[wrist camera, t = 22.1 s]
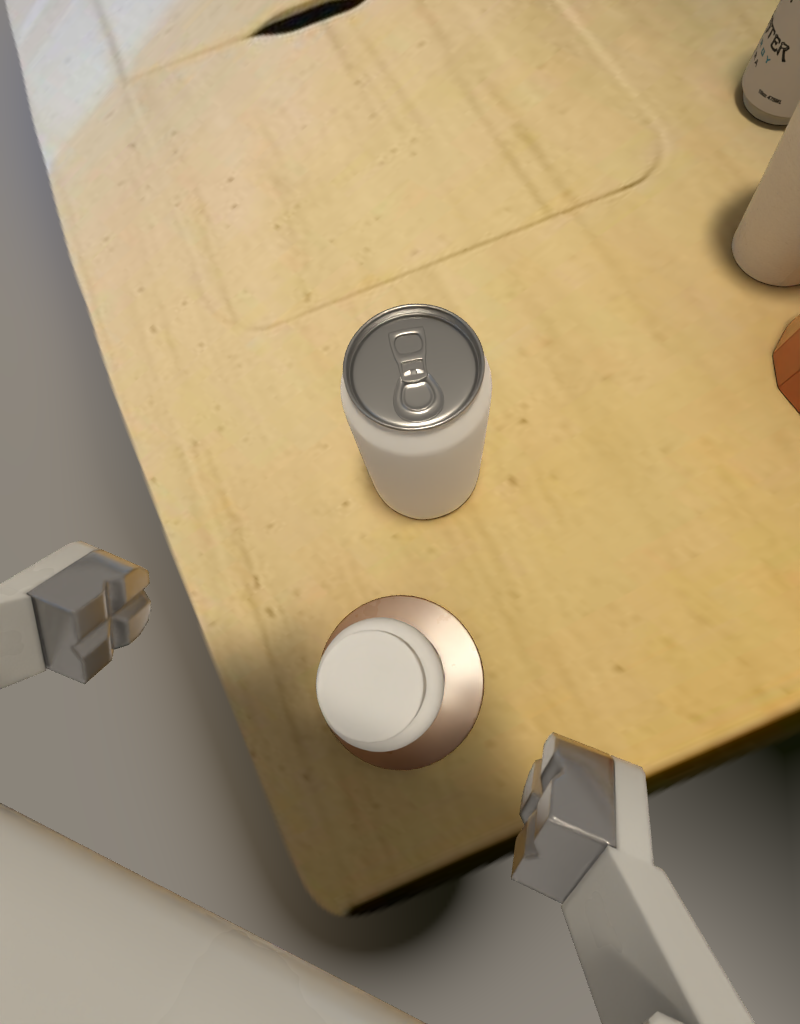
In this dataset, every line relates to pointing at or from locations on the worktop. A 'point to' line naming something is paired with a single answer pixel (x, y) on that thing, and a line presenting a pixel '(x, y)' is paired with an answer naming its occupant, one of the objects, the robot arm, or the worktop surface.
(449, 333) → the can
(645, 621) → the worktop surface
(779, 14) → the energy drink can
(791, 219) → the dixie cup
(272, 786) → the worktop surface
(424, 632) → the coaster
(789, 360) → the holder cup
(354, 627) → the pill bottle
